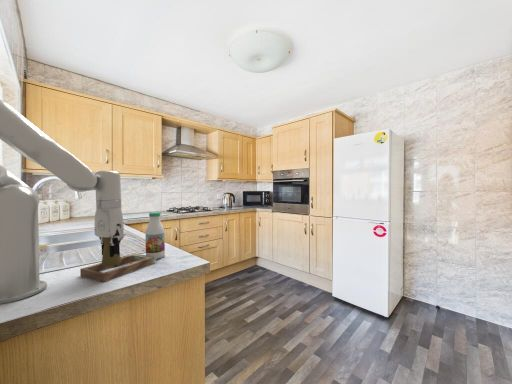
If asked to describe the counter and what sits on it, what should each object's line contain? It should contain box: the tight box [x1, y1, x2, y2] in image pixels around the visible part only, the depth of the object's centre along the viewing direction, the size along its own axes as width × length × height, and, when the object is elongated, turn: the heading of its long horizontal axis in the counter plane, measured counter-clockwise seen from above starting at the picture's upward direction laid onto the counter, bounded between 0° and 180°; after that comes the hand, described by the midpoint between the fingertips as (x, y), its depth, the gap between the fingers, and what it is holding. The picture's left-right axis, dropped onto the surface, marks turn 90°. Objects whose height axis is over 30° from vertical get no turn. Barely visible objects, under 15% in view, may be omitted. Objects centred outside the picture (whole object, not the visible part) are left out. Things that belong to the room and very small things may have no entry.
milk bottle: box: [145, 211, 166, 260], centre depth 95 cm, size 8×8×20 cm
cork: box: [101, 234, 122, 267], centre depth 78 cm, size 6×6×11 cm
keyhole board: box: [79, 253, 156, 283], centre depth 81 cm, size 20×13×2 cm, turn 155°
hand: (110, 254), depth 78 cm, fingers closed on cork, 3 cm apart
